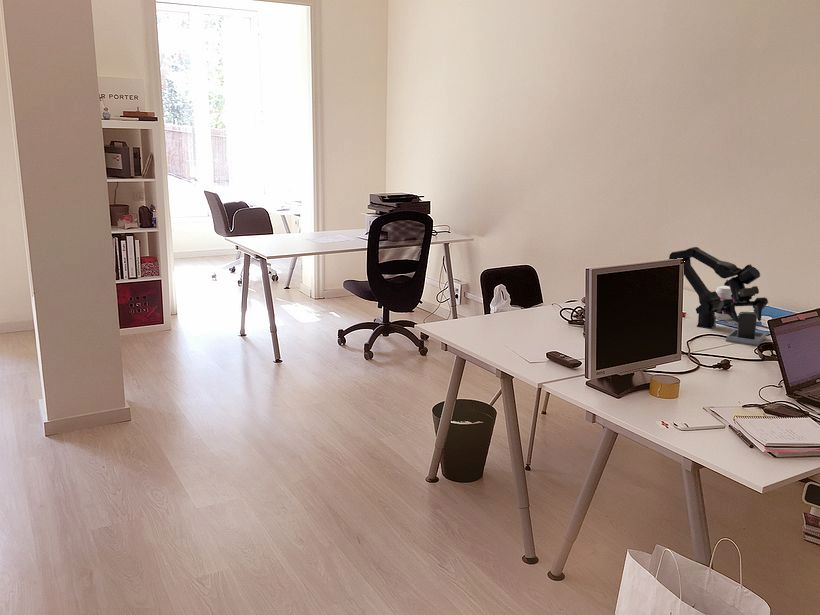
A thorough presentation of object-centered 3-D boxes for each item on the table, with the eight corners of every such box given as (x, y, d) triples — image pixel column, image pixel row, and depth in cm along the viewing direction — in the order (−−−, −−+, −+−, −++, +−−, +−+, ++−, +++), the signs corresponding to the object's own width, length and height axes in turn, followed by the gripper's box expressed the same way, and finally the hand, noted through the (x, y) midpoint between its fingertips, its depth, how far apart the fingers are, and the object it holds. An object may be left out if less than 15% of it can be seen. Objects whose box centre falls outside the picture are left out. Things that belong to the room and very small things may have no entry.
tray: (725, 341, 290) (726, 336, 290) (734, 334, 299) (734, 329, 299) (758, 345, 282) (758, 340, 282) (765, 338, 292) (765, 333, 291)
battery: (753, 337, 292) (756, 311, 289) (755, 340, 288) (757, 313, 285) (735, 336, 294) (737, 310, 291) (736, 339, 290) (739, 312, 287)
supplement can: (734, 317, 325) (737, 286, 321) (732, 321, 318) (734, 289, 315) (716, 315, 329) (718, 284, 326) (713, 319, 323) (715, 288, 319)
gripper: (723, 280, 289) (734, 312, 280) (768, 278, 289) (779, 310, 281) (714, 294, 298) (723, 326, 290) (757, 292, 298) (768, 324, 290)
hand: (748, 321), depth 287 cm, fingers open, 9 cm apart
